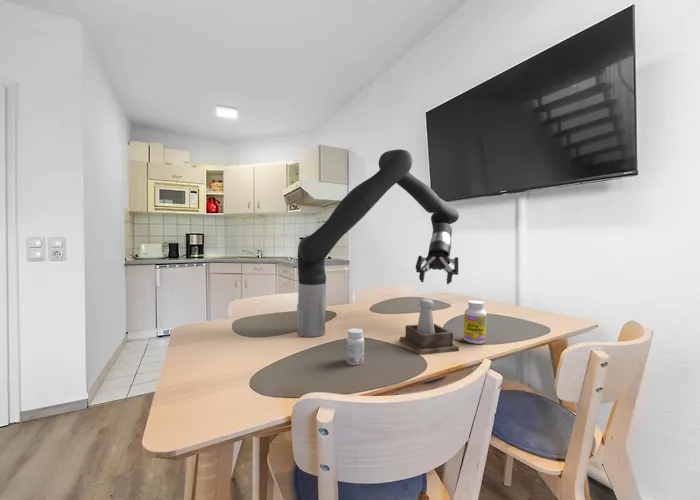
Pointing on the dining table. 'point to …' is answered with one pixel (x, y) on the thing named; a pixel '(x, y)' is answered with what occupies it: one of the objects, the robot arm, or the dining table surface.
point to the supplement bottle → (475, 322)
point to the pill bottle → (355, 347)
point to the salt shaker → (426, 317)
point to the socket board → (429, 340)
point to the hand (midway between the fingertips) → (434, 281)
